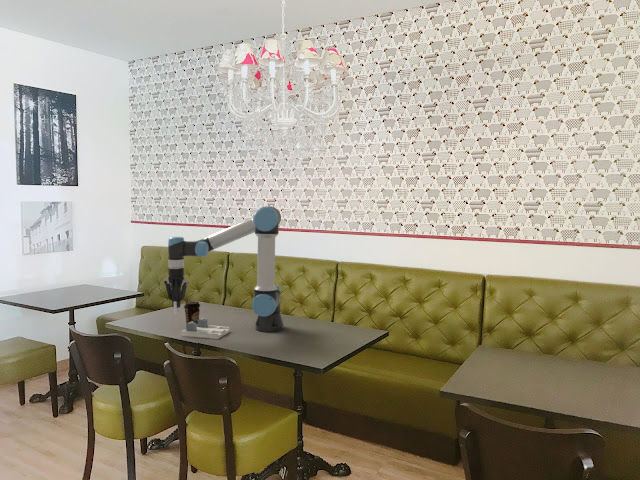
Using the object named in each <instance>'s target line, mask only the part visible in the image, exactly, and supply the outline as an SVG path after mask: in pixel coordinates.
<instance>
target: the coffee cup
mask: <svg viewBox="0 0 640 480" xmlns="http://www.w3.org/2000/svg"><path fill="white" fill-rule="evenodd" d="M200 307H201V304H200V303H199V301H195V300H194V301H186V302H185V304H184V306H183V309H184V312H185V313H184V314H185V324H186V323H188V322H191V321H193V322H194V323H196V324H198V321H197V320H199V319H200V312H201V310H200Z"/></svg>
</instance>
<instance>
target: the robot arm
mask: <svg viewBox="0 0 640 480" xmlns="http://www.w3.org/2000/svg"><path fill="white" fill-rule="evenodd" d="M281 215H282V214H281V212H280V211H279V209H277V208H276V207H274V206H261V207H259V208H258V209H257V210H256V211H255V213H254V214H253V215H252V217H250V218H248V219H245V220H243V221H241V222H238V223H236V224H234V225H232V226H229V227H227V228H225V229H223V230H220V231H218V232H215V233H213V234H210V235H208V236H206V237H203V238H202V239H198V240H196V241H195V240H194V241H192V240H191V241H189V240H188V241H187V240H185V239H184V237H183V236H171V237H169V238H168V242H167V243H168V245H167V250H168V253H167V255H168V260H167V262H168V263H167V264H168V270H167V271H168V277H167V279H166V280H164V281H163V283H164V285H165V288H166V295H167V298H168V300H170V301H171V302H172V304H171V306H172V308H173V315H178V314H180V308H181V301H183V300H185V296H186V293H187V287H188V285H189V284H190V283H189V281H186V280H185V277H184V275H185V268H184V267H185V264H184V263H185V257H199V258H201V257H207V256H208V254H209V253H210V252H212V251H214V250H216V249H219V248H221V247H223V246H226V245H227V244H228V245H229V244H230V243H232V242H234V241H237V240H240V239H242V238H244V237H247V236H249V235H252V234H255V236H256V237H257V263H256V264H257V265H256V267H257V272H256V273H257V274H256V275H257V277H256V286H254V287H253V299H252V301H251V307H252V308H251V309H252V310H253V312H254V313H255V314H256V315H257V317H256V319H255V320H256V321H255V323H254V327H255V328H254V329H255V330H256V331H258V332H263V333H269V332H270V333H272V332H278V331H279V332H280V331H282V330H283V329H284V327H285V324H284V321H283V318H282V314H281V292H282V291H281V286H279V285H275V269H276V268H275V266H276V263H275V262H276V256H275V255H276V238H277V237H278V235H279V227H280V223H281V221H282V216H281Z"/></svg>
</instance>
